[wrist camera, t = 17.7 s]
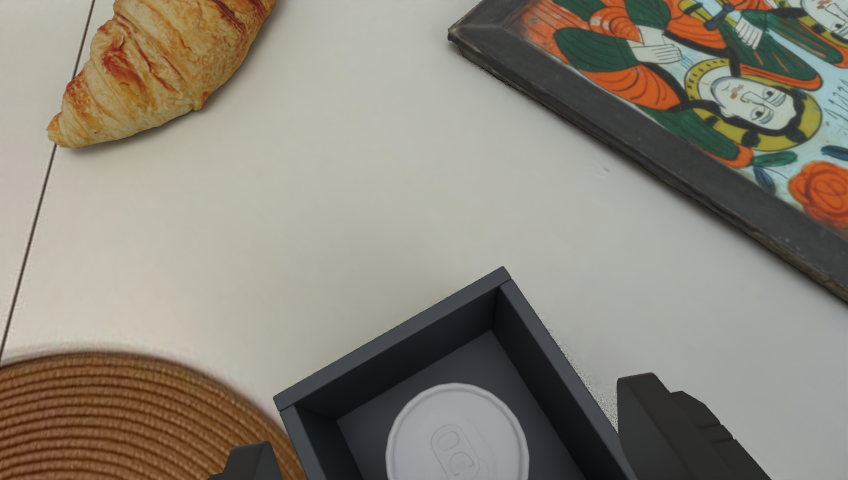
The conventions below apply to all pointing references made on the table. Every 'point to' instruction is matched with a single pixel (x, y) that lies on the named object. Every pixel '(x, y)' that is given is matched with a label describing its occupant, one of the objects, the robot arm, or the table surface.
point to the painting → (699, 102)
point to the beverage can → (456, 437)
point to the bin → (454, 363)
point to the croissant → (155, 66)
